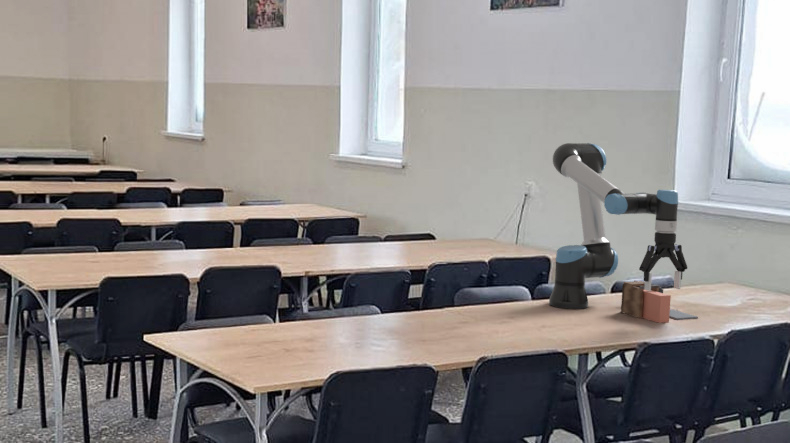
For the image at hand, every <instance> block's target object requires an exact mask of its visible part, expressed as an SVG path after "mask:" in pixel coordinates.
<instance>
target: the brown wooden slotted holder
mask: <svg viewBox="0 0 790 443" xmlns="http://www.w3.org/2000/svg"><path fill="white" fill-rule="evenodd" d="M634 281H635V282H634ZM634 281H623V283H622V290H621V304H620V305H621V306H620V307H621V308H620V313H622V312H623V313H622V314H625V313H626V315H628V314H629V315H628V316H632V317H635V318H638V319H642V307H643V292H644V287H645V281H644V280H643V281H641V280H639V281H638V280H634ZM659 287H660V285H658V284H654V285H651V290H652V291H656V292H659Z"/></svg>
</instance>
